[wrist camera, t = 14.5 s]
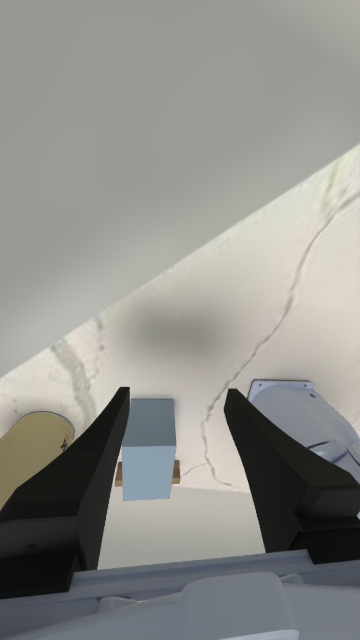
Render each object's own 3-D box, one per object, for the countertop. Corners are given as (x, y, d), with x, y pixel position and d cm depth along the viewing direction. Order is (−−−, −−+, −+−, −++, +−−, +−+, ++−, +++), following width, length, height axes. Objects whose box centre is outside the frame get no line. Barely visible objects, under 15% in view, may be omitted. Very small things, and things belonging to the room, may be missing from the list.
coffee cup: (71, 458, 28) (9, 595, 17) (4, 444, 26) (-117, 592, 15) (88, 417, 25) (29, 548, 14) (16, 398, 23) (-121, 536, 12)
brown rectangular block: (178, 460, 30) (180, 477, 28) (178, 466, 31) (179, 483, 29) (118, 462, 29) (114, 480, 27) (118, 468, 30) (115, 486, 27)
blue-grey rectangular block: (173, 399, 26) (176, 445, 19) (168, 446, 29) (169, 498, 23) (131, 398, 25) (121, 446, 19) (131, 447, 28) (123, 501, 22)
